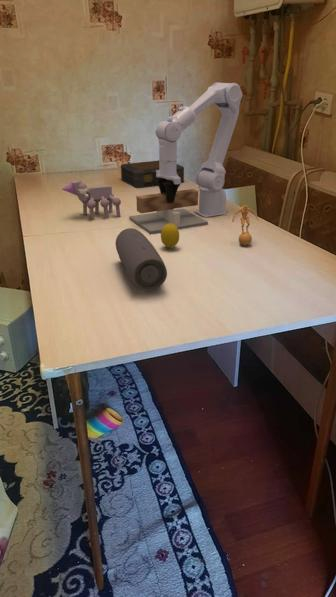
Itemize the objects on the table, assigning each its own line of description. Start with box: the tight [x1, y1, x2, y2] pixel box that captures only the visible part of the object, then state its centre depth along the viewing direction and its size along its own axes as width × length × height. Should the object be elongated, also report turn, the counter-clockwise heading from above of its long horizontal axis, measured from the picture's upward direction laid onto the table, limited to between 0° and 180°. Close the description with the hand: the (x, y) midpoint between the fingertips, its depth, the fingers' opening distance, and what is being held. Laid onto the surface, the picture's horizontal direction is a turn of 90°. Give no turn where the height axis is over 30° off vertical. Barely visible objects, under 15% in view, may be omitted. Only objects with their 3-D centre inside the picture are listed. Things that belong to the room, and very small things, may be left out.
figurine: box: [231, 204, 259, 247], centre depth 132 cm, size 8×6×12 cm
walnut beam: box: [136, 188, 199, 214], centre depth 151 cm, size 22×4×5 cm, turn 117°
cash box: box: [120, 160, 185, 189], centre depth 208 cm, size 25×20×8 cm
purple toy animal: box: [61, 179, 122, 221], centre depth 157 cm, size 20×11×14 cm, turn 114°
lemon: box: [160, 223, 180, 249], centre depth 130 cm, size 6×6×8 cm
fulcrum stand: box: [128, 208, 209, 235], centre depth 153 cm, size 22×18×5 cm
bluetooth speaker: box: [115, 227, 168, 292], centre depth 112 cm, size 23×9×10 cm, turn 17°
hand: (167, 201), depth 151 cm, fingers closed on walnut beam, 3 cm apart
